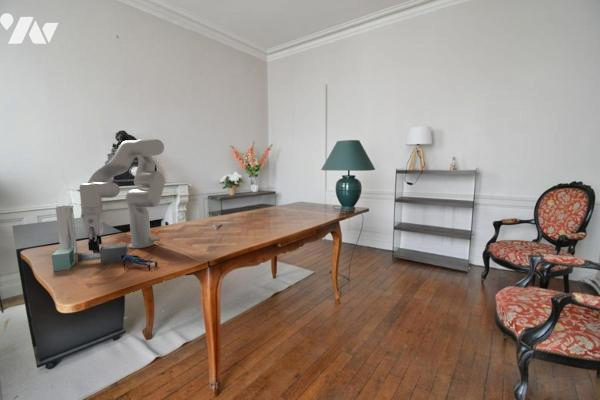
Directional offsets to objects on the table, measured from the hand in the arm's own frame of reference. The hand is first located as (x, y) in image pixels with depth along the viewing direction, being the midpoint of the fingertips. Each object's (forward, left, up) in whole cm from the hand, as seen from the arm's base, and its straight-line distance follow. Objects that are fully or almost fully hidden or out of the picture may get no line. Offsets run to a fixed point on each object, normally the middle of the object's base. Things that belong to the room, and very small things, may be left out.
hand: (95, 247), depth 127 cm
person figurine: (-17, +14, -8) cm, 24 cm away
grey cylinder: (+15, -22, -8) cm, 28 cm away
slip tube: (-2, 0, -6) cm, 6 cm away
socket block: (+12, 0, -7) cm, 14 cm away
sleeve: (-7, 0, -7) cm, 10 cm away
